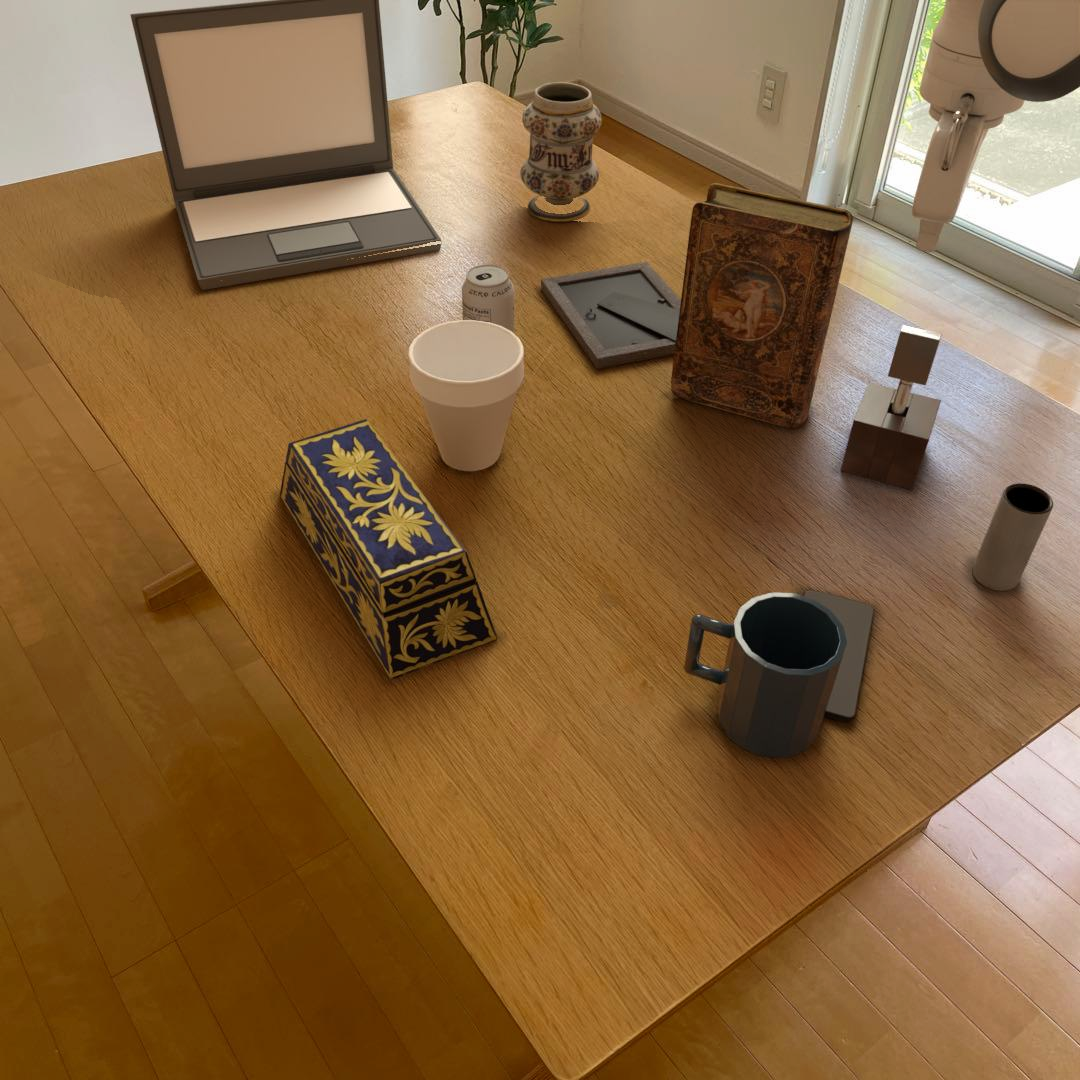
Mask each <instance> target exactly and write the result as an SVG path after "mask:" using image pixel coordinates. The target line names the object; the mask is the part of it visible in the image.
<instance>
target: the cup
mask: <svg viewBox="0 0 1080 1080" xmlns="http://www.w3.org/2000/svg"><path fill="white" fill-rule="evenodd" d="M524 356H525V351H524V345H523V343H522V341H521V339H520V338H519V337H518V336H517V335H516V334H515V332H514V333H512V332H511V331H509V330H508V329H506V328H504V327H502V326H499V325H496V324H493V323H489V322H483V321H476V320H463V319H461V320H453V321H446V322H443V323H440V324H437V325H434V326H431V327H429V328H427V329H425V330H423V331H421V332H420V333H419V334H418V335H417V336H416V337H415V338H414V339H413V340H412V341H411V344H410V345H409V347H408V354H407V358H408V360H409V380H410V383H411V386H412V388H413V389H414V390H415V391H416V392H417V394H418V397H419V399H420V403H421V406H422V408H423V410H424V414H425V416H426V419H427V421H428V424H429V427H430V430H431V432H432V435H433V438H434V441H435V443H436V446H437V449H438V451H439V455H440V458H441V460H442V461H443V463H445V464H446V465H447V466H448V467H450V468H452V469H455V470H457V471H462V472H463V471H464V472H476V471H481V470H485V469H488V468H490V467H491V466H493V465H495V463H497V461H498V460H499V458H500V456H501V452H502V449H503V445H504V441H505V439H506V434H507V431H508V428H509V423H510V420H511V419H510V418H511V417H512V416H511V415H512V413H513V409H514V404H515V401H516V399H517V394H518V390H519V388H520V387H521V386H522V384H523V381H524V379H525V366H524Z"/></svg>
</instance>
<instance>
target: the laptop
mask: <svg viewBox="0 0 1080 1080" xmlns="http://www.w3.org/2000/svg"><path fill="white" fill-rule="evenodd" d="M380 10H381V9H380V0H261V1H260V0H259V1H251V2H249V1H248V2H241V3H240V2H239V3H230V4H219V5H209V6H197V7H188V8H179V9H169V10H159V11H157V10H156V11H146V12H137V13H130V14H129V15H130V19H131V23H132V28H133V31H134V37H135V40H136V41H135V42H136V45H137V48H138V54H139V57H140V62H141V66H142V70H143V75H144V79H145V83H146V87H147V92H148V95H149V100H150V104H151V108H152V112H153V118H154V121H155V126H156V129H157V133H158V134H157V135H158V138H159V142H160V147H161V150H162V151H161V152H162V155H163V159H164V164H165V168H166V172H167V177H168V180H169V184H170V189H171V193H172V198H173V202H174V206H175V209H176V213H177V216H178V219H179V222H180V225H181V229H182V232H183V236H184V239H185V242H187V243H186V246H187V249H188V252H190V253H189V255H190V259H191V263H192V266H193V269H194V272H195V276H196V279H197V282H198V286H199V287H200V288H201V290H202V291H205V290H206V291H207V290H212V289H218V288H225V287H230V286H235V285H243V284H247V283H255V282H259V281H265V280H271V279H277V278H284V277H290V276H295V275H301V274H307V273H312V272H319V271H325V270H330V269H335V268H342V267H347V266H349V267H350V266H355V265H360V264H366V263H372V262H377V261H384V260H389V259H395V258H402V257H408V256H413V255H420V254H425V253H430V252H437V251H440V250H441V248H442V243H441V244H437V245H431V246H425V247H419V248H413V249H407V250H401V251H395V252H389V253H383V252H388V251H392V250H397V249H403V248H409V247H413V246H419V245H423V244H427V243H430V242H436V241H441V242H442V238H441V237H440V235H439V234H438V232H437V231H436V230H435V228H434V227H433V225H432V224H431V222H430V221H429V219H428V217H427V216H426V215H425V213H424V212H423V210H422V209H421V207H420V206H419V204H418V203H417V201H416V200H415V198H414V197H413V195H412V194H411V192H410V191H409V189H408V188H407V186H406V184H405V183H404V182H403V180H402V178H401V177H400V176H399V175H398V173H397V171H396V170H395V169H394V163H393V161H394V160H393V149H392V139H391V128H390V115H389V104H388V92H387V79H386V67H385V56H384V55H385V54H384V44H383V34H382V20H381V11H380ZM377 253H383V254H377ZM373 254H377V255H373ZM368 255H372V256H368ZM364 256H366V257H364ZM359 257H360V258H359ZM351 258H354V259H351ZM347 259H348V260H347ZM221 280H222V281H221Z"/></svg>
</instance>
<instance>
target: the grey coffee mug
mask: <svg viewBox="0 0 1080 1080" xmlns="http://www.w3.org/2000/svg"><path fill="white" fill-rule="evenodd" d="M690 622H691V623H690V627H689V628H690V629H689V634H688V641H687V645H686V646H687V647H686V652H685V660H684V665H683V669H684V672H685V673H686V674H688V675H690V676H693V677H695V678H699V679H701V680H705V681H707V682H710V683H713V684H716V685H719V690H718V695H717V700H716V701H717V706H716V709H717V710H716V713H717V719H718V722H719V724H720V726H721V729H722V730H723V732H724V733H725V735H726V736H727V737H728V738H729V739H730V740H731V741H732V742H734V744H736V745H737V746H739V747H740V748H742V749H744V750H745V751H747V752H749V753H752V754H753V755H757V756H760V757H766V758H772V759H773V758H774V759H777V758H778V759H779V758H789V757H793V756H796V755H798V754H800V753H802V752H804V751H806V750H807V749H808V748H810V747H811V746H812V745H813V744H814V743H815V741H816V740H817V738H818V736H819V733H820V730H821V727H822V724H823V722H824V718H825V716H824V715H825V712H826V708H827V705H828V702H829V699H830V696H831V693H832V689H833V686H834V683H835V680H836V677H837V674H838V671H839V667H840V664H841V661H842V658H843V655H844V652H845V649H846V645H847V639H846V635H845V631H844V627H843V625H842V624H841V622H840V621H839V620H838V619H837V617H836V616H835V615H834V613H833V612H832V611H831V610H830V609H828V608H826V607H825V606H823V605H822V604H820V603H819V602H817V601H816V600H814V599H811V598H808V597H804V596H803V595H801V594H797V593H794V592H779V591H778V592H776V591H774V592H773V591H772V592H767V593H765V594H760V595H757V596H753V597H752V598H750V599H749V600H748V601H746V602H745V603H744V604H742V605H741V606H740V607H739V608H738V610H737V613H736V616H735V617H734V619H733V621H732V622H733V623H729V622H726V621H722V620H719V619H716V618H713V617H710V616H707V615H704V614H700V613H697V614H694V615H693V616H692V618H691V621H690ZM705 632H707V633H711V634H714V635H717V636H719V637H723V638H725V639H728V640H729V642H728V647H727V652H726V657H725V662H724V666H723V670H720V669H718V668H715V667H712V666H709V665H705V664H702V663H701V662H700V658H701V652H702V647H703V641H704V635H705Z"/></svg>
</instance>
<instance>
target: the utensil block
mask: <svg viewBox="0 0 1080 1080" xmlns="http://www.w3.org/2000/svg"><path fill="white" fill-rule="evenodd" d="M896 392H897V388H893V387H890V386H885V385H882V384H878V383H874V382H868V384H867V386H866V389H865V391H864V394H863V396H862V398H861V401H860V403H859V406H858V409H857V410H856V413H855V416H854V419H853V422H852V425H851V429H850V433H849V436H848V441H847V444H846V447H845V452H844V455H843V459H842V463H841V467H840V471H841V472H845V473H847V474H848V473H849V474H852V475H856V476H860V477H862V478H867V479H870V480H873V481H878V482H881V483H885V484H888V485H891V486H895V487H898V488H899V487H900V488H902V489H905V490H910V491H913V489H914V486H915V484H916V480H917V477H918V475H919V472H920V469H921V465H922V462H923V459H924V457H925V453H926V450H927V447H928V444H929V442H930V438H931V435H932V432H933V429H934V425H935V423H936V418H937V415H938V412H939V409H940V406H941V403H942V400H941V399H939V398H934V397H930V396H927V395H922V394H919V393H915V392H914V393H913V392H910V395H909V399H908V402H907V405H906V408H905V412H904V415H903V417H902V416H898V415H894V414H890V412H891V409H892V405H893V402H894V399H895V395H896Z"/></svg>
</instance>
